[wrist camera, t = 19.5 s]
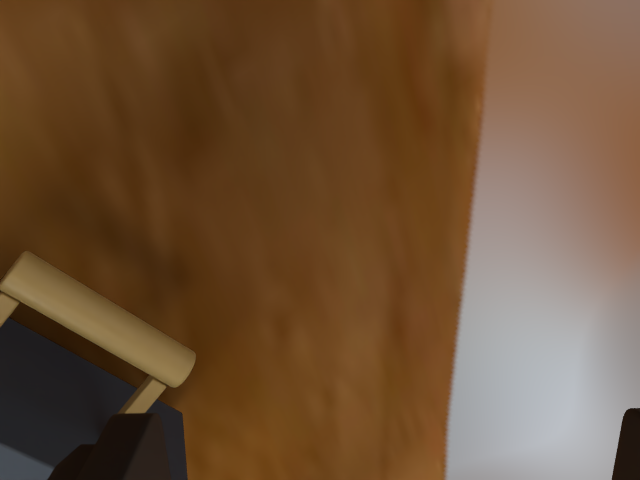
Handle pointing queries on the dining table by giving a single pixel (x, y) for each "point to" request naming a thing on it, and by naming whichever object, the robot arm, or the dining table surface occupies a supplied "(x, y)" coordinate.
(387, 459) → the dining table surface
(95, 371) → the drawer
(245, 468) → the dining table surface
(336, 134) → the dining table surface
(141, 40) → the dining table surface
